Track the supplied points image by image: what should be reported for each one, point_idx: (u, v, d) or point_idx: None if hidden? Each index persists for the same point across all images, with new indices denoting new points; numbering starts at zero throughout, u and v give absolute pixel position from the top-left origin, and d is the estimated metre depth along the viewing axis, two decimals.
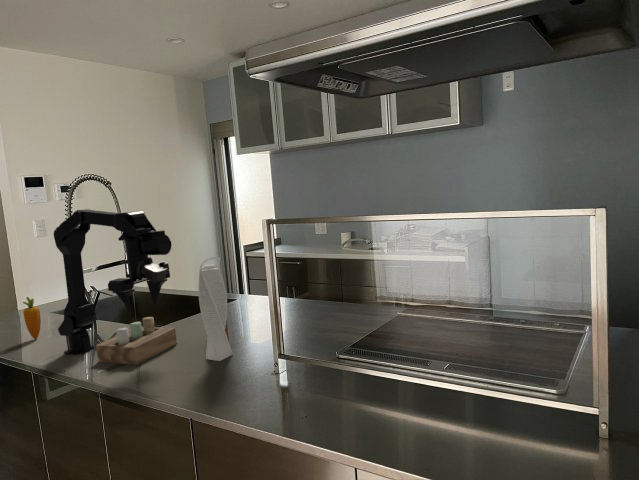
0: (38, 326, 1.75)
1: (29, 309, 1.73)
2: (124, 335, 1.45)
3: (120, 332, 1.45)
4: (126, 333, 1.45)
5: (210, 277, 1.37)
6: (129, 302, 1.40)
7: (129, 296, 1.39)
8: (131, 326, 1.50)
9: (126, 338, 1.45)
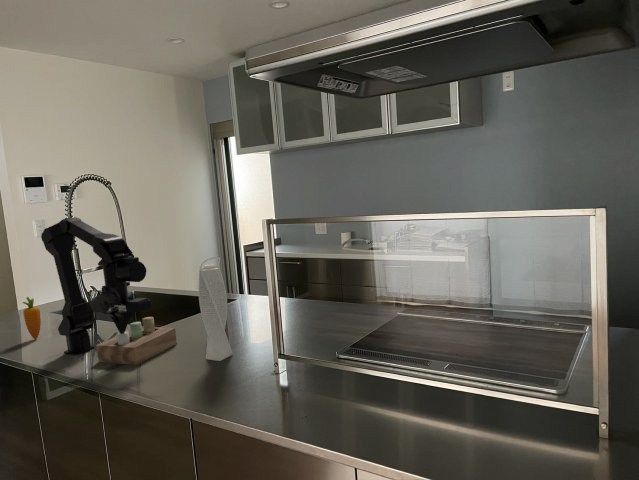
0: (38, 326, 1.75)
1: (29, 309, 1.73)
2: (124, 339, 1.45)
3: (120, 336, 1.45)
4: (127, 337, 1.46)
5: (210, 277, 1.37)
6: None
7: (111, 317, 1.45)
8: (131, 326, 1.50)
9: (126, 342, 1.46)
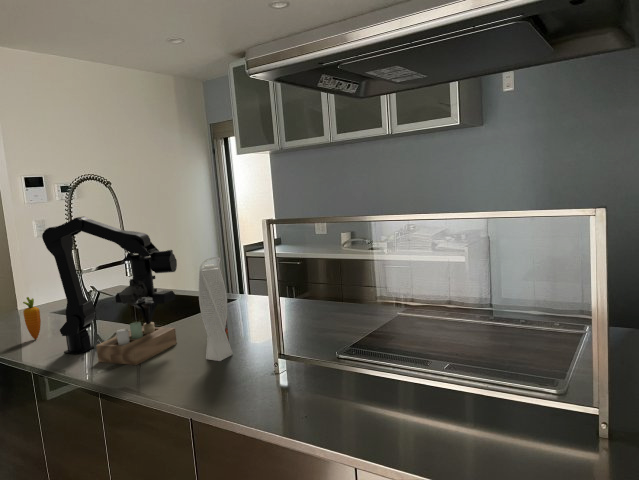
0: (38, 326, 1.75)
1: (29, 309, 1.73)
2: (124, 336, 1.45)
3: (120, 334, 1.45)
4: (126, 334, 1.45)
5: (210, 277, 1.37)
6: None
7: (138, 308, 1.55)
8: (131, 326, 1.50)
9: (126, 339, 1.45)
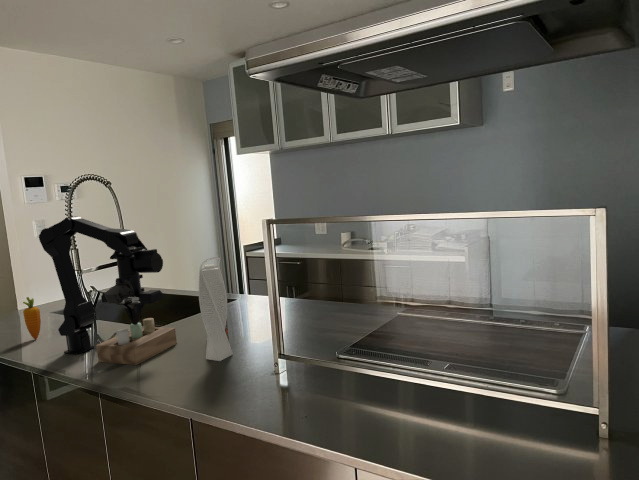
0: (38, 326, 1.75)
1: (29, 309, 1.73)
2: (124, 336, 1.45)
3: (120, 334, 1.45)
4: (126, 334, 1.45)
5: (210, 277, 1.37)
6: None
7: (125, 308, 1.50)
8: (131, 327, 1.50)
9: (126, 339, 1.45)
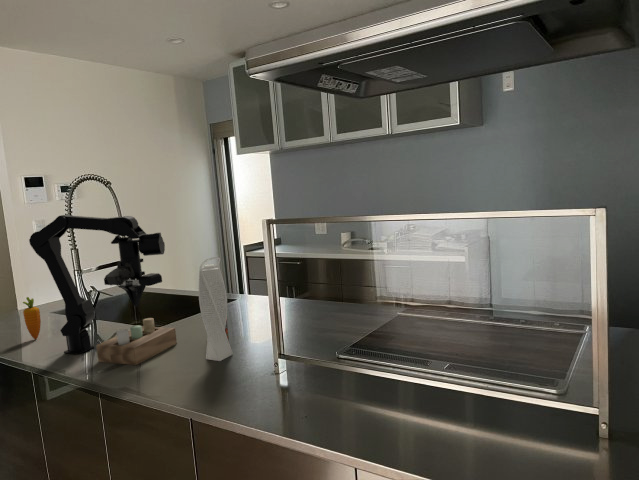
0: (38, 326, 1.75)
1: (29, 309, 1.73)
2: (124, 336, 1.45)
3: (120, 334, 1.45)
4: (126, 334, 1.45)
5: (210, 277, 1.37)
6: None
7: (126, 291, 1.56)
8: (131, 330, 1.50)
9: (126, 339, 1.45)
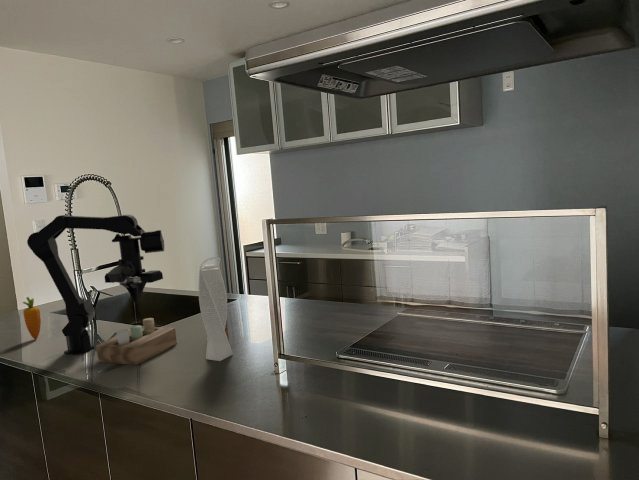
0: (38, 326, 1.75)
1: (29, 309, 1.73)
2: (124, 336, 1.45)
3: (120, 334, 1.45)
4: (126, 334, 1.45)
5: (210, 277, 1.37)
6: None
7: (127, 288, 1.59)
8: (131, 330, 1.50)
9: (126, 339, 1.45)
